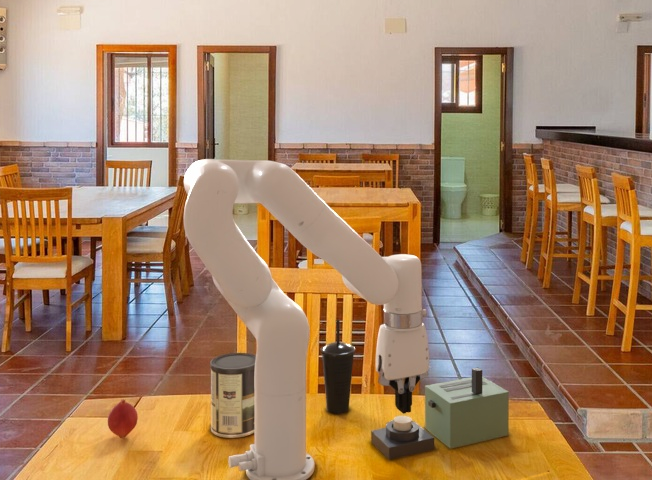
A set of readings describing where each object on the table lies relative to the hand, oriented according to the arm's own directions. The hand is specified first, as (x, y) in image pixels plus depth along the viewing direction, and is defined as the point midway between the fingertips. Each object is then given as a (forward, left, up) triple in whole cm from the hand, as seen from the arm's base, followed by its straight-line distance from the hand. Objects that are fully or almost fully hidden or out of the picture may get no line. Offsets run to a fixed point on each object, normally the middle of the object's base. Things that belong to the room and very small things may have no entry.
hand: (403, 410), depth 140 cm
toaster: (+15, 0, -7) cm, 16 cm away
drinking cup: (-5, +21, -7) cm, 23 cm away
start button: (0, 0, -3) cm, 4 cm away
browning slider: (+15, -3, +2) cm, 16 cm away
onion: (-50, +27, -7) cm, 58 cm away
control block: (0, 0, -7) cm, 7 cm away
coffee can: (-28, +22, -7) cm, 37 cm away
